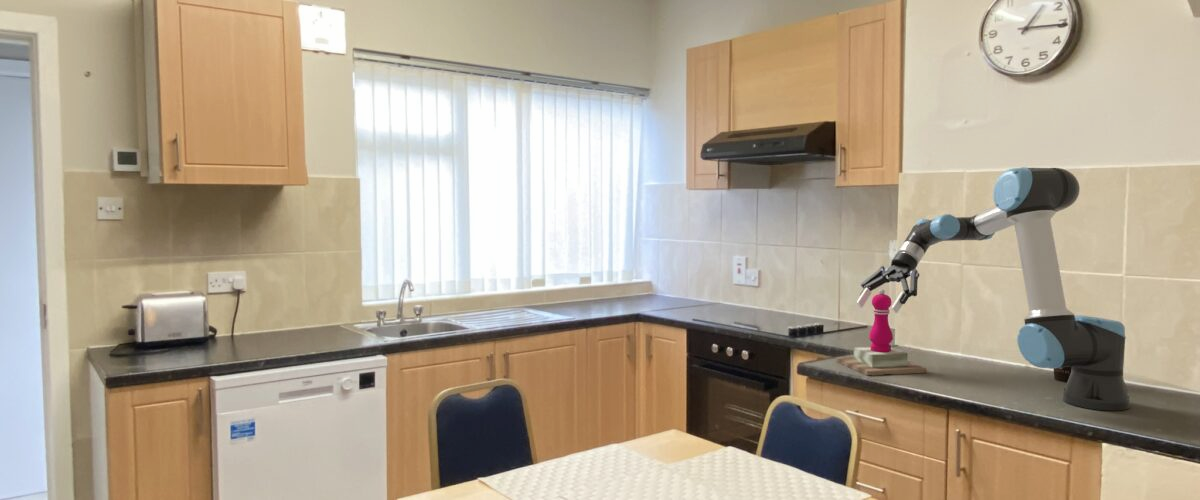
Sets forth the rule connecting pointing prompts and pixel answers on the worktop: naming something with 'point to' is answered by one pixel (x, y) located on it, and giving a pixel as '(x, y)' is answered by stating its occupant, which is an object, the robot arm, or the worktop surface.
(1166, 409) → the worktop surface
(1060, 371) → the coffee mug
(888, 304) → the pepper mill
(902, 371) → the base
